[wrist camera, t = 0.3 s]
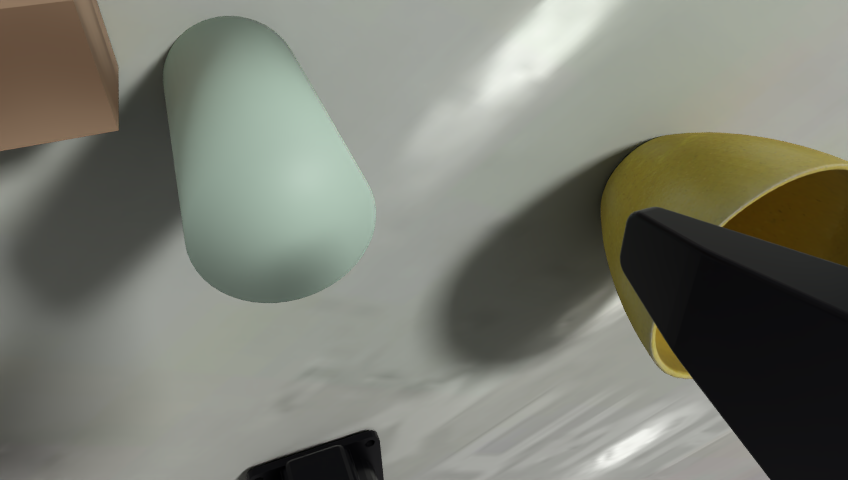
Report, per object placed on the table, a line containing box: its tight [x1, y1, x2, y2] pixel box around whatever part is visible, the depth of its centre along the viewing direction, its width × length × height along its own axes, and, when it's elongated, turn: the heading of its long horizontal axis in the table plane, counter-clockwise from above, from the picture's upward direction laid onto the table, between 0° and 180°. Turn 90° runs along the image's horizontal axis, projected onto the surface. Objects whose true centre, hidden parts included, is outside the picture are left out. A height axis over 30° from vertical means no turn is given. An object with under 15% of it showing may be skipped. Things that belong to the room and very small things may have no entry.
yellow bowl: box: [601, 132, 848, 379], centre depth 26 cm, size 10×10×7 cm
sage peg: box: [163, 16, 376, 303], centre depth 16 cm, size 4×4×8 cm
